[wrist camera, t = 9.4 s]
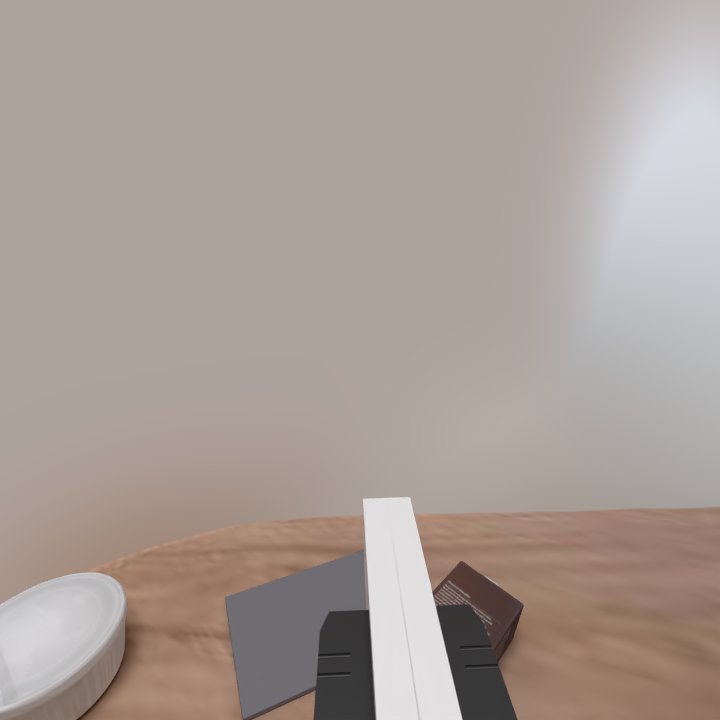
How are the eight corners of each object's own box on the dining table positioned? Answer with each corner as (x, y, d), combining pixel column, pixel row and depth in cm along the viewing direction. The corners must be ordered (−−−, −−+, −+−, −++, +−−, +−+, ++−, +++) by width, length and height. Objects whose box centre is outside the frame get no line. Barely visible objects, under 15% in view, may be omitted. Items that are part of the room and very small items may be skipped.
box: (434, 766, 27) (516, 637, 35) (443, 726, 25) (527, 600, 33) (367, 690, 30) (455, 590, 38) (371, 651, 29) (462, 555, 37)
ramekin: (-90, 756, 27) (-118, 700, 26) (54, 610, 38) (40, 564, 36) (56, 788, 26) (35, 731, 24) (164, 625, 36) (154, 578, 35)
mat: (394, 542, 45) (394, 539, 45) (453, 625, 36) (454, 622, 36) (225, 600, 38) (225, 597, 38) (243, 722, 29) (243, 719, 29)
